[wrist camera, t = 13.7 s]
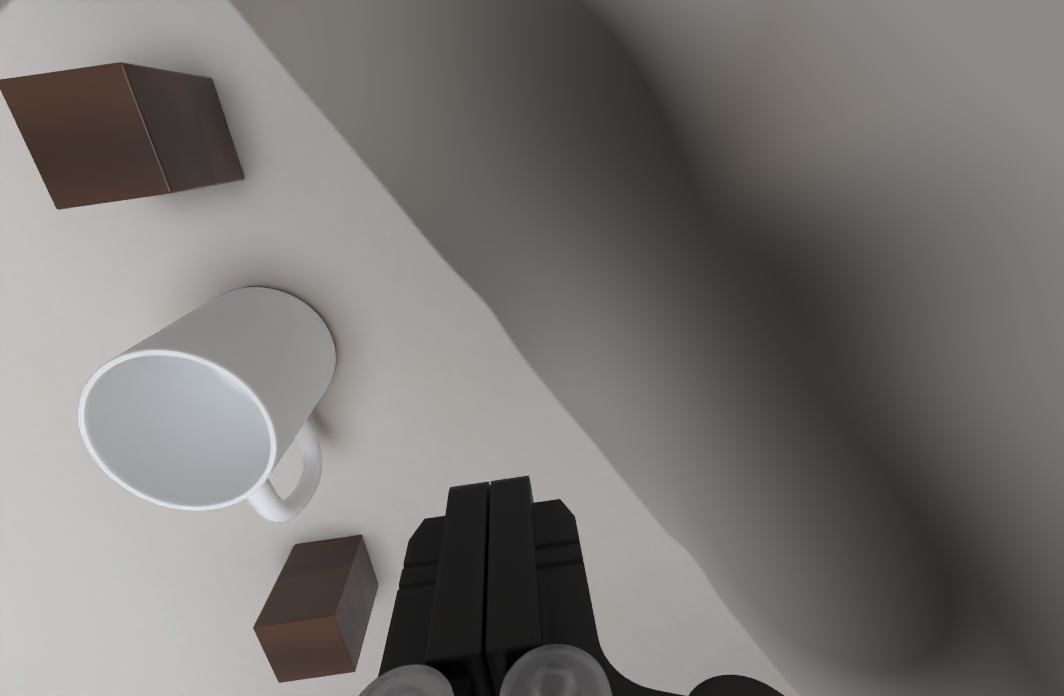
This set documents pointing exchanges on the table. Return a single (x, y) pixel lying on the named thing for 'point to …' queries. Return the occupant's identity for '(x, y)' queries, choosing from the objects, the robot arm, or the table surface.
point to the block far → (318, 610)
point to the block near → (122, 132)
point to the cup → (214, 405)
